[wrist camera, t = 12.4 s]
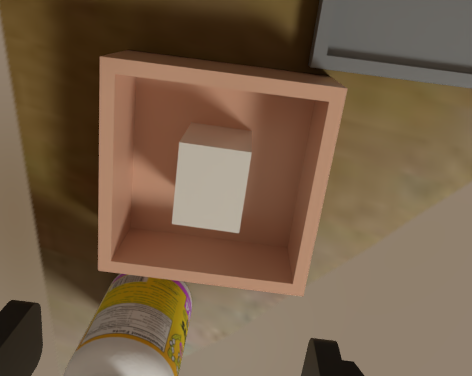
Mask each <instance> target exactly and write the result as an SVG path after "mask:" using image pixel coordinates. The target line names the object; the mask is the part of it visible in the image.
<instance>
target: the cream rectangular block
mask: <svg viewBox="0 0 472 376" xmlns="http://www.w3.org/2000/svg"><path fill="white" fill-rule="evenodd" d="M251 154H252V131H248V130H241V129H234V128H227V127H220V126H213V125H206V124H199V123H192V122H191V124H190V126H189V127H188V129H187V130H186V132H185V134H184V135H183V137H182V139H181V140H180V142H179V151H178V162H177V173H176V184H175V195H174V205H173V216H172V224H176V225H183V226H190V227H197V228H205V229H212V230H219V231H226V232H233V233H239V231H240V224H241V218H242V212H243V205H244V199H245V193H246V186H247V180H248V173H249V167H250V161H251Z"/></svg>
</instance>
